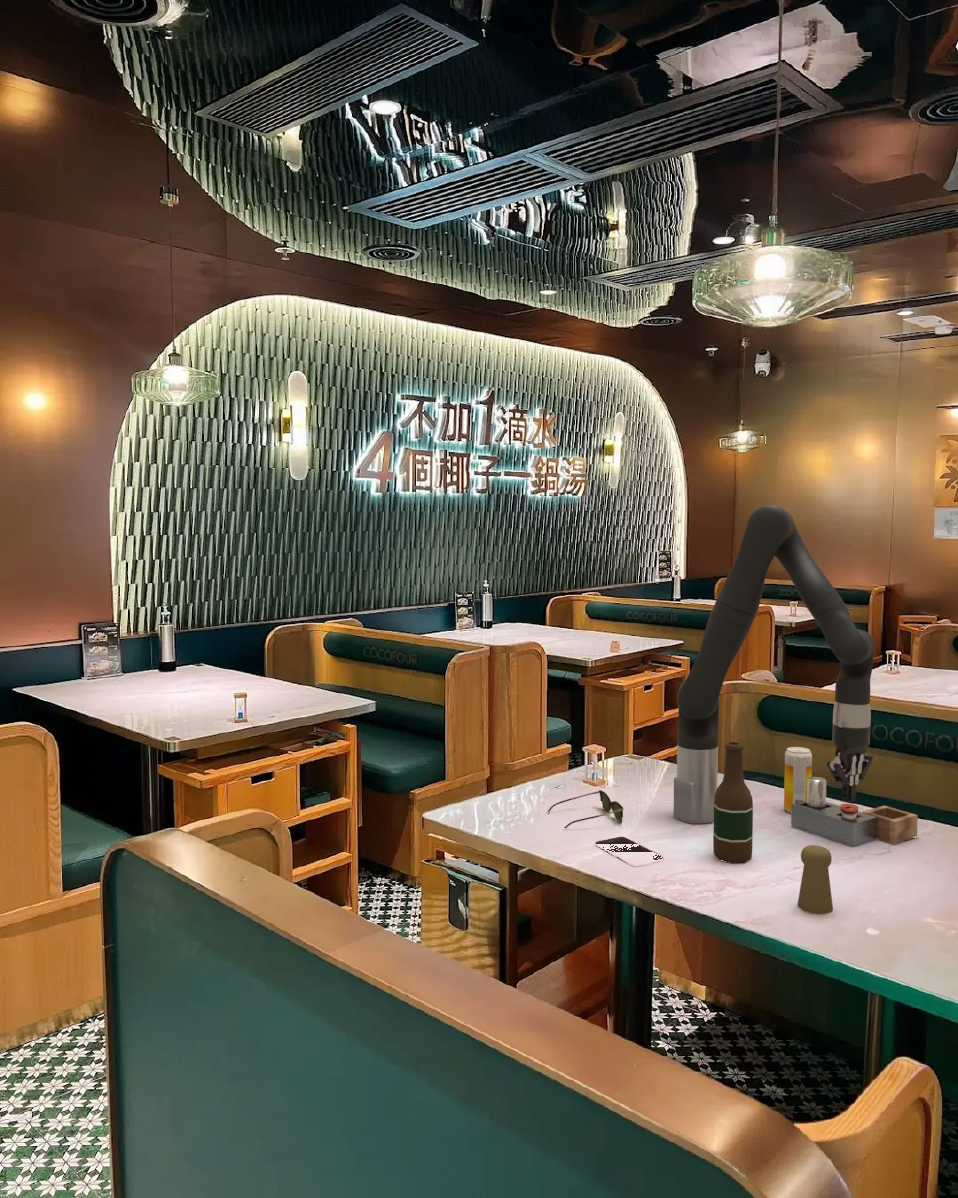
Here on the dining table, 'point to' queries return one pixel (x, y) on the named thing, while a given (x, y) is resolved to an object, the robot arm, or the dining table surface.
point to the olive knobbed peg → (815, 880)
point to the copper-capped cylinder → (849, 811)
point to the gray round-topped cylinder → (816, 793)
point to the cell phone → (625, 841)
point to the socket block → (834, 824)
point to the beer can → (796, 775)
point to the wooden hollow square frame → (894, 824)
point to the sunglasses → (607, 806)
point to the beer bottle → (733, 811)
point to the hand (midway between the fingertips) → (848, 800)
